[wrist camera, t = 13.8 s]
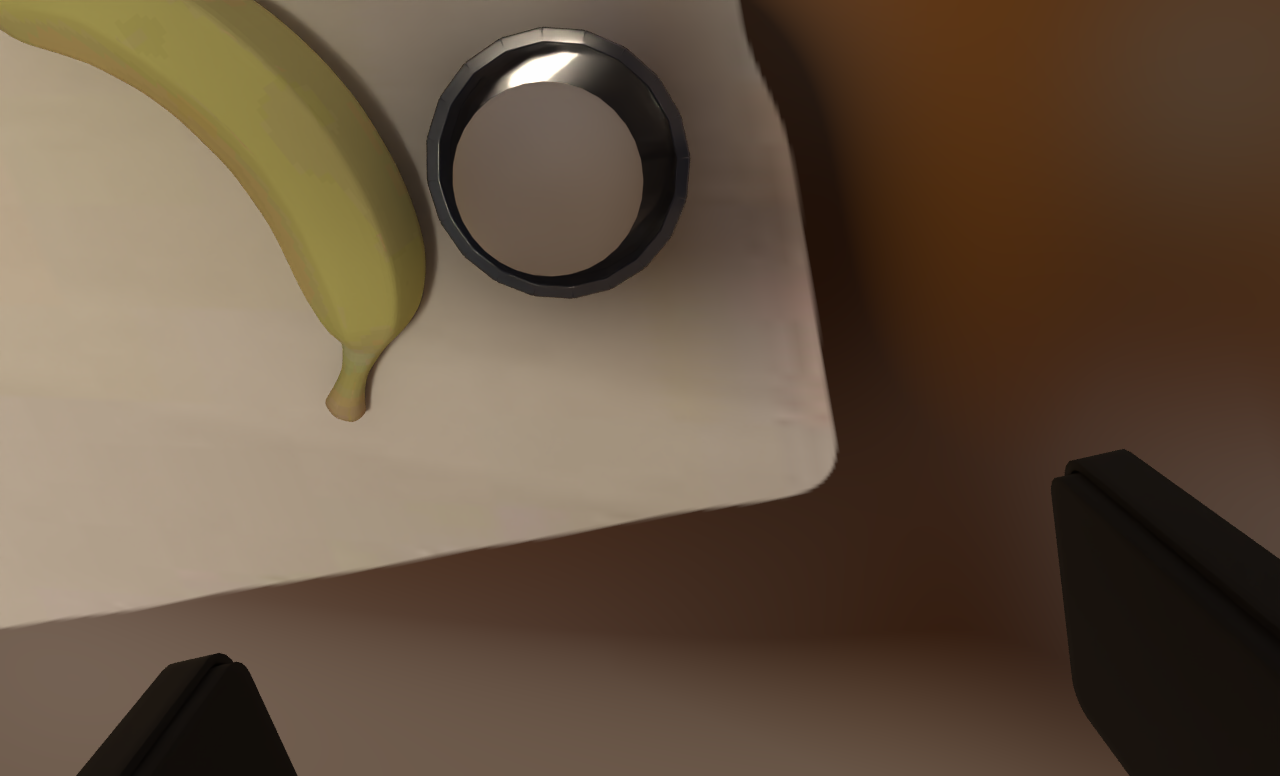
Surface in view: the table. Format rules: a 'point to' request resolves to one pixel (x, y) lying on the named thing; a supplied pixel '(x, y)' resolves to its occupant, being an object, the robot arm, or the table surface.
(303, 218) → the banana
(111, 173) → the table surface
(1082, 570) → the robot arm
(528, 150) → the lightbulb
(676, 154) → the dark grey round bowl
